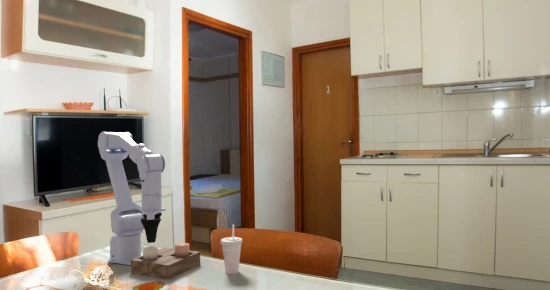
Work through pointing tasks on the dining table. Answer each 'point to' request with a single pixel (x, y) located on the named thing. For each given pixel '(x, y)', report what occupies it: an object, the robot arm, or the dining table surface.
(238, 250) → the smoothie
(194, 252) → the wooden egg crate
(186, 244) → the peach egg
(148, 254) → the knob cream
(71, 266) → the dining table surface
